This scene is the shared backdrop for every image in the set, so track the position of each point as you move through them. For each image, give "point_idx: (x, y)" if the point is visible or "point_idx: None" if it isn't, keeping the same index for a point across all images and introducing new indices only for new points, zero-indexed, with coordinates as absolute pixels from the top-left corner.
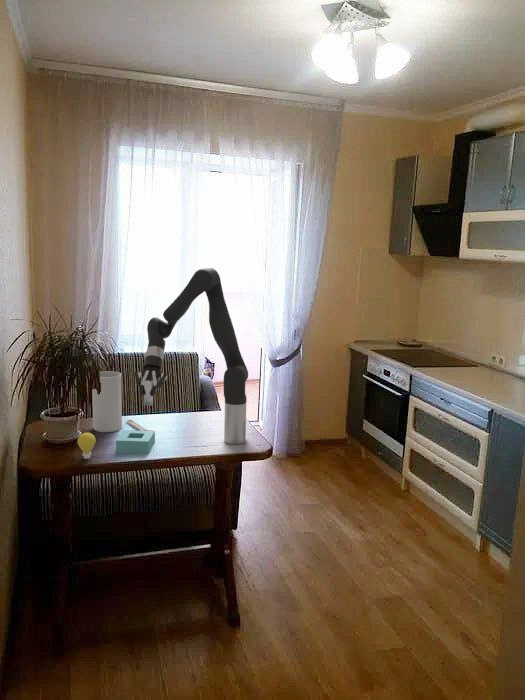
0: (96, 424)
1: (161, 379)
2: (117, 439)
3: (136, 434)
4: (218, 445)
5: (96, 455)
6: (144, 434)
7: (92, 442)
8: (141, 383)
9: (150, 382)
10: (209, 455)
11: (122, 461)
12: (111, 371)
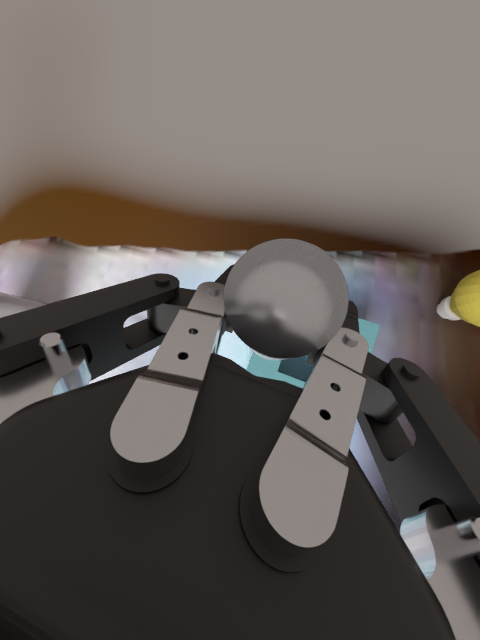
0: None
1: (110, 303)
2: (373, 334)
3: (304, 382)
4: None
5: (419, 322)
6: (279, 361)
7: (469, 275)
8: (362, 348)
9: (267, 247)
10: (130, 247)
11: (348, 260)
12: None
